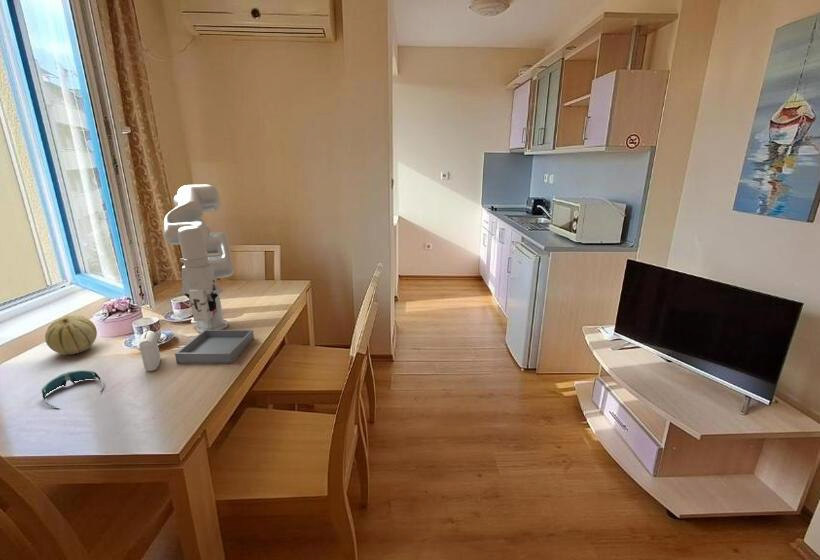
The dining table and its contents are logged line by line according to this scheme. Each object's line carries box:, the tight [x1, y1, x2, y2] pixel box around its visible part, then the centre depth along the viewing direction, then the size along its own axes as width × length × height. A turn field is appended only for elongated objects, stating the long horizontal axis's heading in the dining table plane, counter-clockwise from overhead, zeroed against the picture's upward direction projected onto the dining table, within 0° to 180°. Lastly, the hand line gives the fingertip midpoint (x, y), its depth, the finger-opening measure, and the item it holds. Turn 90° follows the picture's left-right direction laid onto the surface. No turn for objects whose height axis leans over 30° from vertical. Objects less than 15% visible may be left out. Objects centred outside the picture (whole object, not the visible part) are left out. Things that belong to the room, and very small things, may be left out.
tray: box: [174, 329, 255, 365], centre depth 147 cm, size 20×20×4 cm
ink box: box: [189, 289, 217, 321], centre depth 138 cm, size 9×5×12 cm, turn 4°
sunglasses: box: [41, 369, 104, 408], centre depth 121 cm, size 14×15×5 cm
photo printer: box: [138, 330, 162, 372], centre depth 136 cm, size 10×4×12 cm, turn 26°
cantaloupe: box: [44, 314, 98, 355], centre depth 145 cm, size 15×15×15 cm
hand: (204, 309), depth 139 cm, fingers closed on ink box, 5 cm apart
